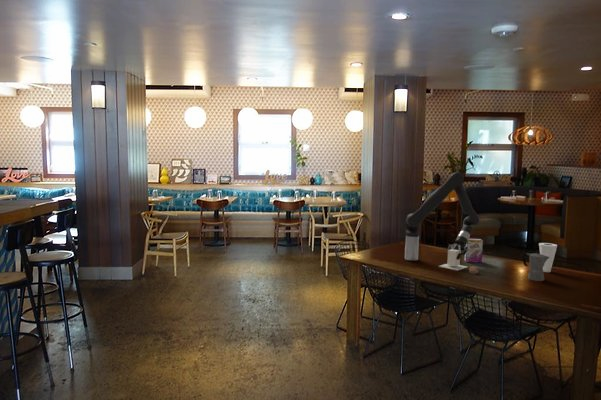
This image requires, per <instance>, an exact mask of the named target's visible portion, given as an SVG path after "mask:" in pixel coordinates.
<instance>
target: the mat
mask: <svg viewBox="0 0 601 400" xmlns="http://www.w3.org/2000/svg"><path fill="white" fill-rule="evenodd" d="M438 267H439V268H443V269H449V270H452V271H458V272H459V271H461V270H464V269H467V268H468V266H466V265H461V264H460V265H458V266H451V265H447V263H443V264H441V265H438Z"/></svg>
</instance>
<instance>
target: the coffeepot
mask: <svg viewBox="0 0 601 400" xmlns="http://www.w3.org/2000/svg"><path fill="white" fill-rule="evenodd" d="M526 257H528V259H529V265H530V268H529V269H528V270H529V271H528V275H527V279H528V280H530V281H535V282H543V281H545V275H544V274H545V272H543V267H544V263H545V262H546V261H547V259H548V258H549V257H548V256H545V255H542V254H540V250H536V252H535V253H531V252H530V253H528V252H523V253H522V254H521V258H522V262H523V266H525V267H528V266H529V265H528V264H527V261H526Z"/></svg>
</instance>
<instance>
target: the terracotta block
mask: <svg viewBox="0 0 601 400" xmlns="http://www.w3.org/2000/svg"><path fill="white" fill-rule="evenodd" d="M468 268H469V269H468V274H472V275H476V273H477V274H479V267H478V266H474V265H472V266H468Z"/></svg>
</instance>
